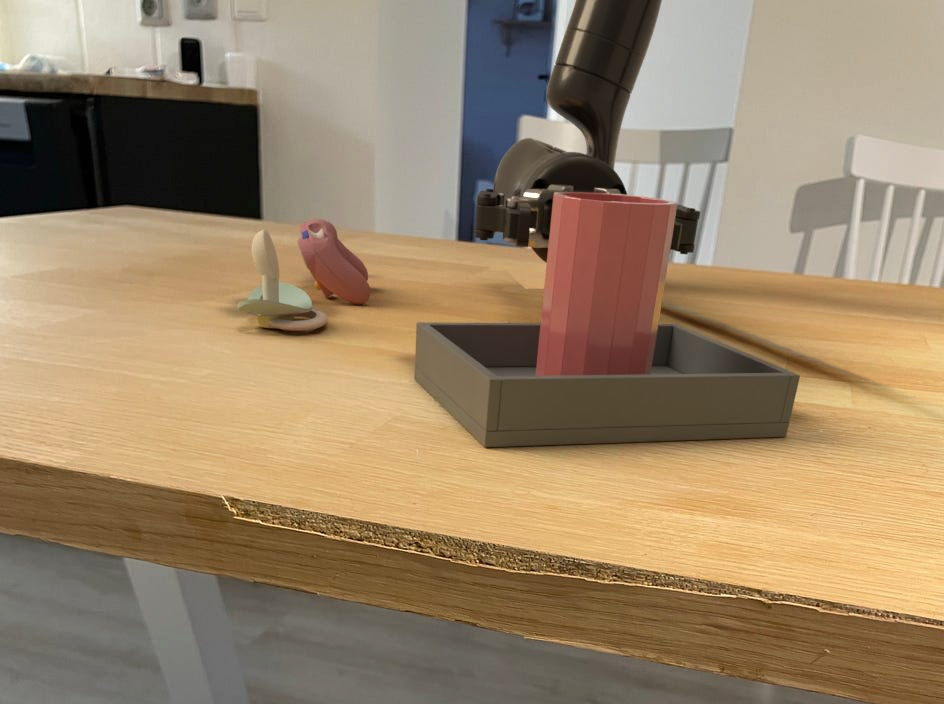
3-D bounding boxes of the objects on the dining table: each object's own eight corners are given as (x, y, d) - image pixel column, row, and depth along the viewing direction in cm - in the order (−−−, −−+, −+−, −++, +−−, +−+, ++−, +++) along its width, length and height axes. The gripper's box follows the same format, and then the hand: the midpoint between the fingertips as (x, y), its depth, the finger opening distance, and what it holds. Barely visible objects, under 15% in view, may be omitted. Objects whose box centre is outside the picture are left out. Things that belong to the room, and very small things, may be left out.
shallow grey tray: (668, 375, 62) (677, 323, 60) (786, 436, 51) (800, 375, 49) (414, 379, 57) (416, 322, 55) (484, 447, 46) (489, 379, 44)
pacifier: (333, 320, 71) (253, 312, 71) (336, 231, 68) (252, 222, 68) (320, 341, 65) (232, 332, 65) (322, 243, 62) (230, 233, 62)
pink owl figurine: (326, 302, 85) (288, 224, 82) (372, 280, 85) (336, 201, 81) (324, 324, 77) (282, 238, 73) (375, 300, 76) (335, 213, 73)
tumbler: (615, 377, 57) (641, 194, 52) (665, 406, 52) (699, 206, 47) (518, 378, 55) (535, 189, 50) (559, 408, 50) (583, 201, 45)
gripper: (478, 145, 68) (481, 153, 54) (673, 159, 69) (727, 171, 55) (471, 256, 72) (472, 291, 58) (656, 269, 72) (703, 306, 58)
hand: (596, 232), depth 56 cm, fingers open, 8 cm apart
